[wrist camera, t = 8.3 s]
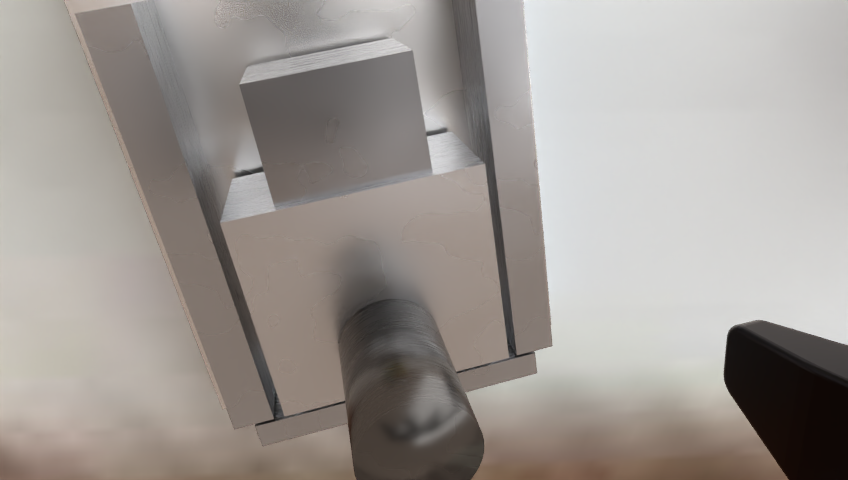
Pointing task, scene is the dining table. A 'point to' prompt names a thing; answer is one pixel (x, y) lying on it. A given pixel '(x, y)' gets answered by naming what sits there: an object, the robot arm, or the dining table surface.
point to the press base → (238, 156)
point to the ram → (367, 257)
